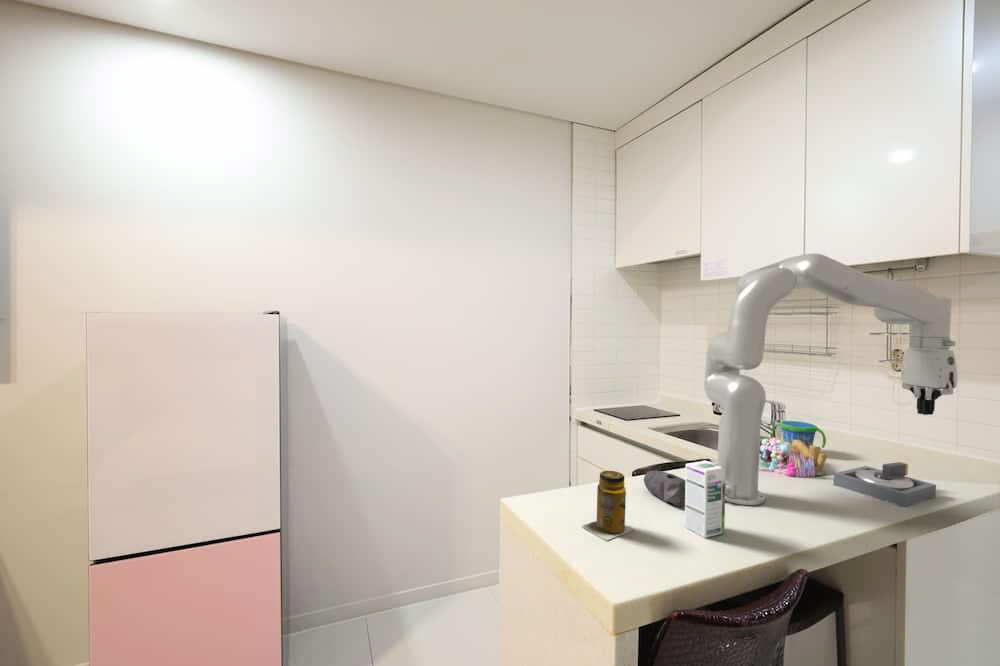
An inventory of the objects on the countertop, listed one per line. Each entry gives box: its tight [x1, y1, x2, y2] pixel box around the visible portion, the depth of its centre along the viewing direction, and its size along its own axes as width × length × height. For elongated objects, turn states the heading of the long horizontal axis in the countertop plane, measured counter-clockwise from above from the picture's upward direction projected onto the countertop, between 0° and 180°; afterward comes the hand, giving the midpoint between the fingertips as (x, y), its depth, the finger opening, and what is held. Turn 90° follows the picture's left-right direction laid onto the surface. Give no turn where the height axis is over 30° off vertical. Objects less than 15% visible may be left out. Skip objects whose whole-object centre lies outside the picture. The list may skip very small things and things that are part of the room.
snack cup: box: [771, 420, 827, 453], centre depth 155 cm, size 16×10×10 cm
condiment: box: [581, 470, 634, 542], centre depth 97 cm, size 7×8×12 cm
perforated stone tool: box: [643, 470, 686, 507], centre depth 114 cm, size 15×5×7 cm, turn 22°
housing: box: [833, 465, 937, 508], centre depth 122 cm, size 16×16×3 cm
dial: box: [855, 461, 914, 491], centre depth 122 cm, size 15×12×5 cm
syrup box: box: [684, 460, 726, 539], centre depth 97 cm, size 6×6×14 cm
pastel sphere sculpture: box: [759, 437, 828, 478], centre depth 142 cm, size 25×24×9 cm
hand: (925, 413), depth 117 cm, fingers closed
